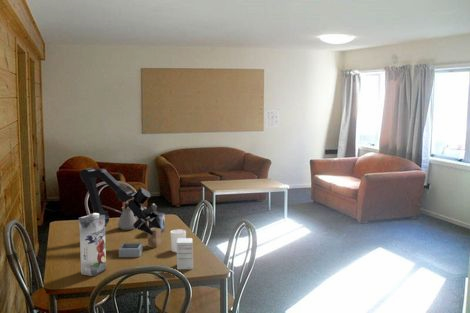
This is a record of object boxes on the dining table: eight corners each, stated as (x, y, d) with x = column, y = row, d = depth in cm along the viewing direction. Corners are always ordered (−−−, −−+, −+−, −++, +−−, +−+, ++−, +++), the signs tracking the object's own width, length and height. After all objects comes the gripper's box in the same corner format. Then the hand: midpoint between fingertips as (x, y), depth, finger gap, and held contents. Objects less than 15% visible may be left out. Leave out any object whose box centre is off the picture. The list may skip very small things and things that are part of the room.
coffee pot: (136, 225, 303) (136, 201, 301) (138, 230, 292) (137, 205, 290) (100, 227, 297) (99, 202, 295) (100, 232, 286) (99, 207, 284)
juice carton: (77, 275, 220) (75, 214, 216) (92, 267, 229) (90, 209, 226) (94, 277, 217) (92, 216, 213) (109, 270, 226) (107, 211, 223)
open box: (118, 257, 244) (118, 249, 244) (122, 250, 254) (122, 243, 253) (139, 257, 244) (139, 249, 244) (142, 250, 254) (142, 242, 254)
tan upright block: (148, 246, 261) (147, 229, 260) (152, 244, 266) (152, 227, 264) (156, 247, 259) (156, 230, 258) (161, 245, 264) (160, 228, 263)
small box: (159, 235, 282) (158, 216, 281) (148, 234, 284) (147, 216, 282) (165, 230, 293) (165, 212, 291) (154, 229, 294) (154, 212, 293)
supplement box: (177, 264, 235) (176, 237, 233) (193, 263, 235) (192, 237, 234) (176, 269, 227) (176, 242, 226) (193, 269, 228) (192, 242, 226)
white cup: (173, 253, 250) (173, 234, 248) (168, 249, 256) (168, 230, 255) (188, 251, 253) (188, 232, 252) (182, 247, 260) (182, 228, 259)
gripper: (138, 203, 252) (158, 226, 250) (155, 196, 269) (174, 218, 267) (124, 217, 255) (144, 240, 253) (143, 209, 273) (161, 231, 271)
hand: (156, 232), depth 261 cm, fingers open, 9 cm apart
